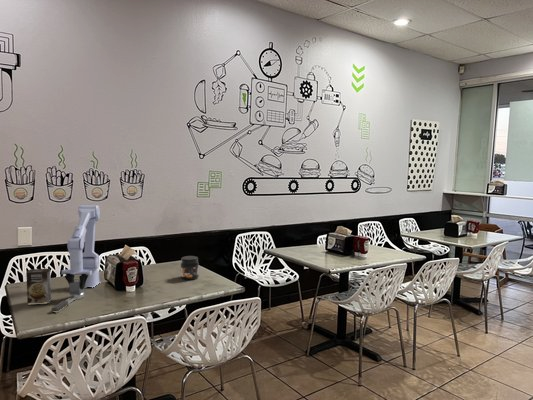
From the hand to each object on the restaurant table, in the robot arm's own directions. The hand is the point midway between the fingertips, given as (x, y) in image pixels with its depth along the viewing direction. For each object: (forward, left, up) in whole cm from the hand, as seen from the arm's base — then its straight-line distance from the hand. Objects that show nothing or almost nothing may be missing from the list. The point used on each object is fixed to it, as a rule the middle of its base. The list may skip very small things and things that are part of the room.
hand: (77, 288), depth 204 cm
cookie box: (+9, -14, -5) cm, 17 cm away
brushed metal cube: (0, 0, -2) cm, 2 cm away
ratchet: (+8, 0, -5) cm, 10 cm away
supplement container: (-39, +47, -5) cm, 61 cm away
